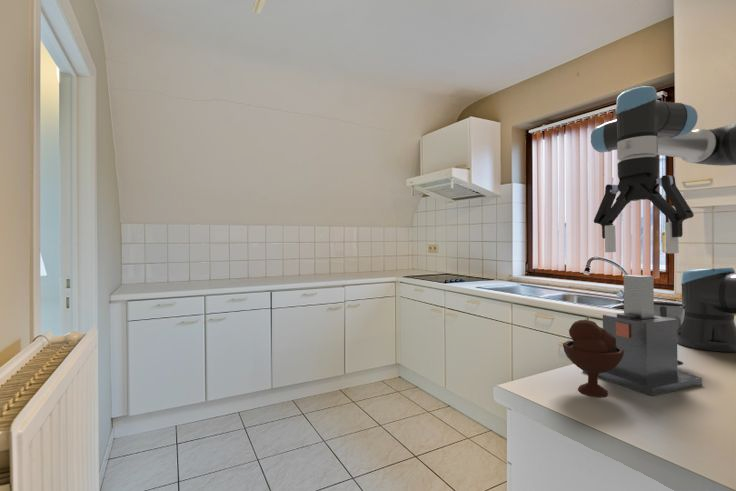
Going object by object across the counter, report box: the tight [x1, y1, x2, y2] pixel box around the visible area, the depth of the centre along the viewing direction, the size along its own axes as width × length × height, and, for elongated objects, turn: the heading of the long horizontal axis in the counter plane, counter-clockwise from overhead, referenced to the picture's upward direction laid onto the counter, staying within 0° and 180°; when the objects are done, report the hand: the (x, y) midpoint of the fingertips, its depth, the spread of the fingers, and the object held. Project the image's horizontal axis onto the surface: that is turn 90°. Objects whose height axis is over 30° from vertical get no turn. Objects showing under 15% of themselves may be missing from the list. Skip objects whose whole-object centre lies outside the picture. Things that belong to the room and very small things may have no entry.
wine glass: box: [654, 300, 685, 366], centre depth 99 cm, size 8×8×15 cm
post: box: [623, 274, 655, 320], centre depth 87 cm, size 4×4×21 cm
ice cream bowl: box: [562, 319, 624, 398], centre depth 79 cm, size 11×11×15 cm
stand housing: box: [582, 312, 703, 397], centre depth 87 cm, size 16×16×15 cm
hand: (639, 252), depth 86 cm, fingers open, 13 cm apart
